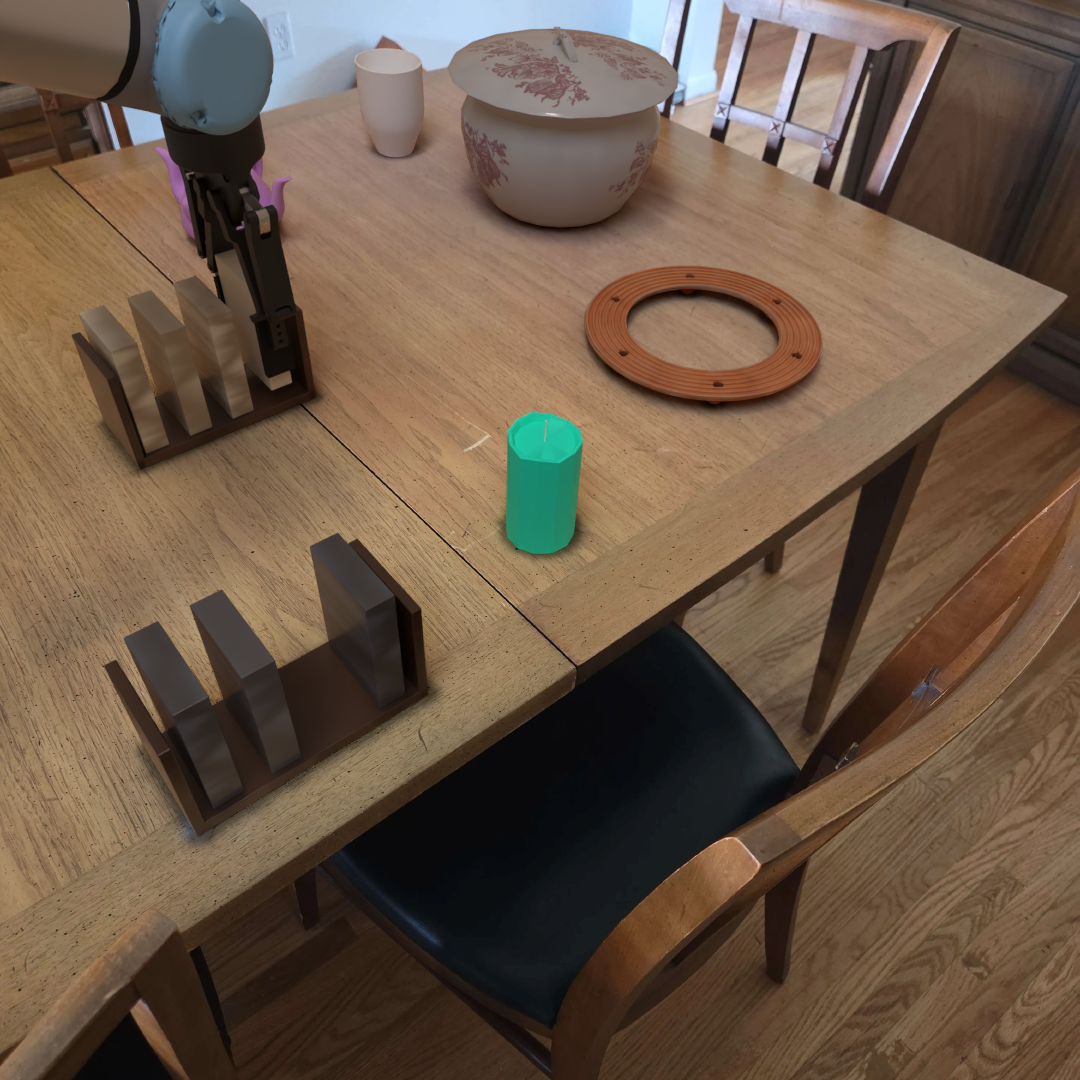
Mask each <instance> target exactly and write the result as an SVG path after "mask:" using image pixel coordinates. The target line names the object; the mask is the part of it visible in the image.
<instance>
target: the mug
mask: <svg viewBox="0 0 1080 1080" xmlns="http://www.w3.org/2000/svg"><path fill="white" fill-rule="evenodd" d="M353 62H354V70H355V71H354V72H355V76H356V77H355V78H356V79H355V80H356V87H357V94H358V102H359V108H360V114H361V118H362V121H363V123H364V126H365V127H366V128H365V129H366V130H367V132H368V134H369V136H370V138H371V140H372V142H373V145H374V147H375V149H376V151H377V152H378V153H379V154H380V155H382V156H385V157H388V158H403V157H407V156H409V155H411V154H412V153H414V152H413V151H414V148H415V146H416V144H417V141H418V138H419V136H420V132H421V129H422V127H423V125H424V118H425V93H424V92H425V91H424V77H423V61H422V58H421V57H420V56H419V55H417V54H416V53H413V52H411V51H408V50H405V49H399V48H390V47H381V48H379V47H377V48H371V49H366V50H363V51H361V52H359V53H357V54H356V55H355V56H354V58H353Z"/></svg>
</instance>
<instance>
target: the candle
mask: <svg viewBox="0 0 1080 1080" xmlns="http://www.w3.org/2000/svg"><path fill="white" fill-rule="evenodd" d="M506 439H507V441H506V442H507V446H506V447H507V448H506V490H505V491H506V493H505V530H506V538H507V540H509V541H510V542H511V543H512V544H513V545H514V546H515V547H516V548H517V549H519V550H521V551H524V552H527V553H530V554H532V555H545V554H555V553H556V552H558V551H561V550H562V549H564V548H566V547H568V545H569V543H570V542H571V540H572V539H573V537H574V535H575V529H576V519H577V509H578V508H577V507H578V497H579V488H580V487H579V486H580V478H581V477H580V476H581V467H582V457H583V448H584V447H583V446H584V441H583V435H582V432H581V429H580V428H578V427H577V426H576V425H575V424H573V423H572V422H571V421H569V420H568V419H565V418H563V417H560V416H558V415H556V414H553V413H549V412H539V411H531V412H529V413H527V414H524V415H523V416H521V417H519V418H517V419H515V421H514V422H513V423H512V424H511V426H510V427H509V428H508V430H507V438H506Z"/></svg>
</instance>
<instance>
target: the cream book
mask: <svg viewBox="0 0 1080 1080" xmlns="http://www.w3.org/2000/svg"><path fill="white" fill-rule="evenodd" d="M215 259H216V264H217V268H218V272H219V277H220V281H221V285H222V290H223V294H224V298H225V302H226V306H227V307H228V308H229V309H230V310H231V312H232V317H233V321H234V325H235V330H236V334H237V339H238V343H239V347H240V352H241V356H242V360H243V363H245V364H246V365H247V366H248V367H249V368H250V369H251V370H252V371H253V372H254V373H255V374H256V375H257V376H258V377H259V378H260V379H261V380H262V381H263V382H264V383H265V384H266V385H267V386H268V387H269V388H270V389H271V390H275V389H277V388H280V387H282V386H285V385H287V384H290V383H292V379H291V374H290V371H287V372H285V373H282V374H280V375H277V376H274V377H272V378H268V377H267V376H266V375H265V372H264V368H263V363H262V358H261V353H260V349H259V344H258V339H257V335H256V330H255V325H254V323H253V322H252V321H251V319H250V317H249V316H251V315H252V314H255V313H257V312H256V309H255V306H254V303H253V300H252V298H251V295H250V292H249V289H248V286H247V283H246V280H245V277H244V274H243V271H242V269H241V266H240V263H239V260H238V257H237V254H236V251H235V249H232V250H229V251H225V252H222V253H219V254H216V255H215Z"/></svg>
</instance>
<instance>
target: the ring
mask: <svg viewBox="0 0 1080 1080" xmlns="http://www.w3.org/2000/svg"><path fill="white" fill-rule="evenodd" d="M678 290H679V291H680V292H681V293H683V294H687V295H690V294H692V293H694V292H695V290H699V291H701V290H702V291H711V292H716V293H720V294H726V295H728V296H732V297H735V298H738V299H740V300H743V301H744V302H746V303H749V304H751V305H752V306H754V307H756V308H757V309H758V310H760V311H762V312H763V313H764V315H765V317H766V318H767V319H769V320H771V321H772V323H773V325H774V326H775V328H776V331H777V334H778V343H777V346H776V348H775V350H774V351H772V353H771V354H769V356H767V357H766V358H764V359H762V360H761V361H758V362H756V363H753V364H749V365H746V366H742V367H739V368H738V367H737V368H730V369H719V370H718V369H701V368H693V367H687V366H683V365H679V364H676V363H672V362H670V361H667V360H665V359H662V358H660V357H658V356H656V355H654V354H652V353H651V352H649V351H648V350H646V349H645V348H644V347H642V346H641V345H640V344H639V343H638V342H637V341H636V340H635V339H634V337H632V335H631V332H630V331H629V329H628V326H627V320H628V319H627V317H628V314H629V312H630V310H631V309H632V308H633V307H634V306H635V305H637V304H638V303H639V302H641V301H642V300H644V299H646V298H649V297H651V296H654V295H657V294H660V293H661V294H662V293H665V292H670V291H671V292H672V291H678ZM583 319H584V323H583V325H584V326H583V327H584V333H585V336H586V338H587V341H588V343H589V344H590V346H591V348H592V349H593V351H594V352H595V354H596V355H597V356H599V358H600V359H601V360H602V362H603V363H605V364H606V365H607V366H608V367H609V368H611V369H612V370H614V371H615V372H616V373H618V374H619V375H621V376H622V377H624V378H626V379H628V380H630V381H631V382H633V383H636V384H638V385H639V386H642V387H644V388H646V389H650V390H652V391H654V392H658V393H661V394H665V395H668V396H673V397H676V398H677V397H678V398H682V399H688V400H689V399H690V400H696V401H705V402H706V401H707V402H708V403H710V404H715V405H716V404H720V403H722V402H734V401H744V400H745V401H746V400H751V399H759V398H762V397H763V398H764V397H766V396H771V395H773V394H776V393H779V392H781V391H785V390H786V389H788V388H790V387H791V386H794V385H796V384H797V383H798V382H800V381H801V380H803V379H804V378H805V377H806V376H807V375H808V374H809V373H810V372H811V371H812V370H814V368H815V366H817V363H818V362H819V360H820V358H821V355H822V350H823V344H824V342H823V341H824V340H823V334H822V329H821V328H820V326H819V324H818V322H817V320H816V319H815V317H814V315H813V314H812V312H811V311H809V310H808V309H807V308H806V307H805V305H803V304H802V302H801V301H799V300H798V299H796V298H795V297H794V296H792V295H791V294H790V293H789V292H788V291H785V290H784V289H782V288H780V287H778V286H776V285H774V284H772V283H771V282H768V281H765V280H763V279H761V278H758V277H755V276H752V275H750V274H746V273H744V272H743V273H742V272H739V271H735V270H731V269H725V268H721V267H714V266H705V265H668V266H659V267H651V268H647V269H643V270H637V271H634V272H631V273H628V274H626V275H623V276H620V277H618V278H617V279H615V280H613V281H611V282H609V283H607V284H606V285H605V286H604V287H602V288H601V289H600V290H599V291H598V292H597V293H596V294H595V295H594V296H593V297H592V298H591V300H590V302H588V305H587V307H586V310H585V313H584V318H583Z"/></svg>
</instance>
